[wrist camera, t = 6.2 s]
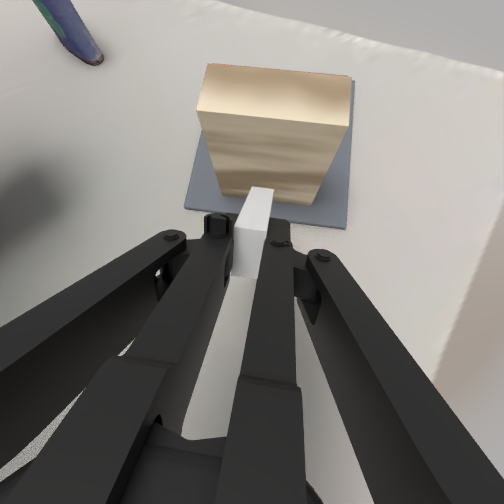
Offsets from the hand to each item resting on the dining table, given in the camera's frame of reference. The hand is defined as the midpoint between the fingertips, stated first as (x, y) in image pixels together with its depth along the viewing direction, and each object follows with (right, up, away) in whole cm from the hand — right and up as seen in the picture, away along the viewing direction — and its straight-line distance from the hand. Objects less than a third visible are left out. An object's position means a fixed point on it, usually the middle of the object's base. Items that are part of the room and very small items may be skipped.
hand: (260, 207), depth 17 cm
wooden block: (+1, +5, +11) cm, 12 cm away
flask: (-25, +26, +18) cm, 40 cm away
